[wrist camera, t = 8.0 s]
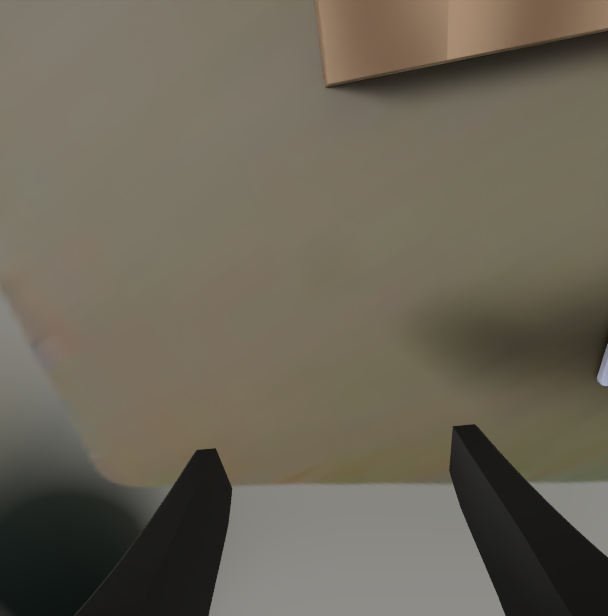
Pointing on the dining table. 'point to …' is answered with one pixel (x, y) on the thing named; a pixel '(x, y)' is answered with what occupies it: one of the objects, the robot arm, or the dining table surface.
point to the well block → (440, 31)
